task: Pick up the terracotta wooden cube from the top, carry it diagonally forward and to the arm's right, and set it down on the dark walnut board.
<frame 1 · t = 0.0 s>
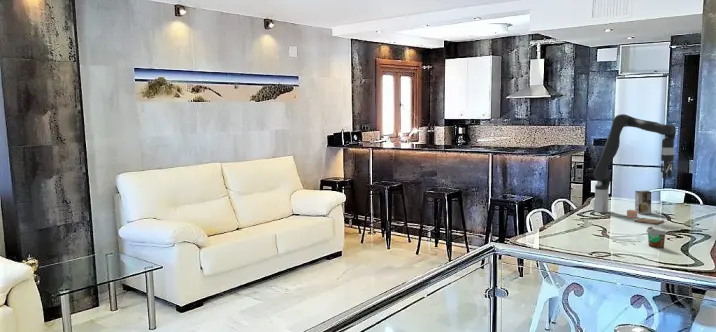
hand: (666, 177, 365), 29 cm above the table, tool pointing down, fingers open, 8 cm apart
coffee box: (642, 213, 393), on the table
walnut board: (649, 221, 363), on the table
food container: (653, 246, 302), on the table
terracotta cube: (631, 217, 380), on the table
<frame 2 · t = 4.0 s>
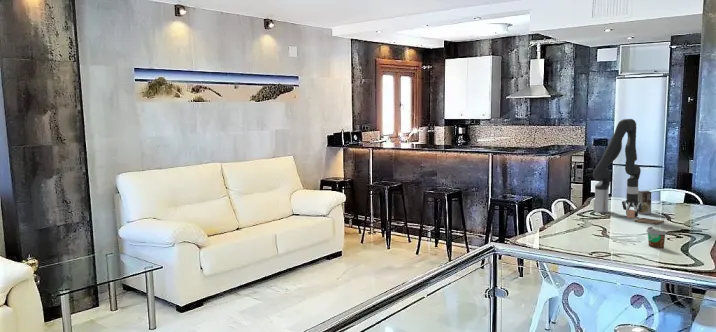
hand: (632, 216, 380), 1 cm above the table, tool pointing down, fingers closed on terracotta cube, 5 cm apart
terracotta cube: (631, 217, 380), on the table, touching gripper
everything else where it was.
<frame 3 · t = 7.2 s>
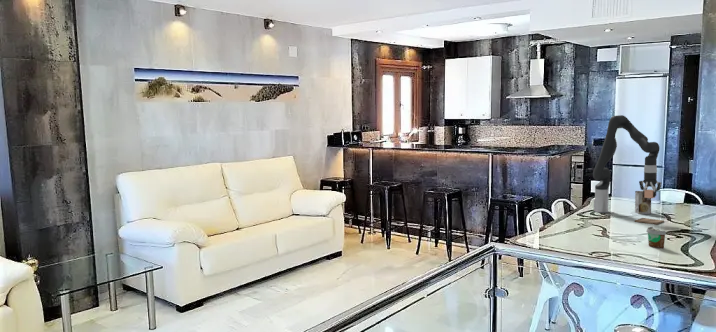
hand: (649, 196, 362), 18 cm above the table, tool pointing down, fingers closed on terracotta cube, 5 cm apart
terracotta cube: (649, 197, 362), point 17 cm above the table, touching gripper
everything else where it was.
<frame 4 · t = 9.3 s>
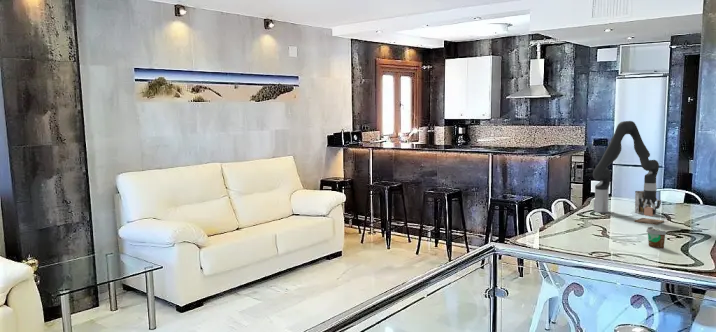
hand: (649, 214, 363), 5 cm above the table, tool pointing down, fingers closed on terracotta cube, 5 cm apart
terracotta cube: (649, 215, 363), point 5 cm above the table, touching gripper
everything else where it was.
when the fingers open (3 cm above the table, at t = 10.7 s): terracotta cube drops 1 cm, resting on walnut board.
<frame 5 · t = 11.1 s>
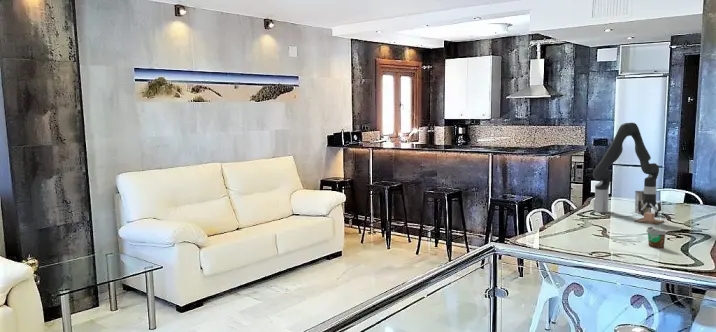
hand: (649, 216, 363), 4 cm above the table, tool pointing down, fingers open, 8 cm apart
terracotta cube: (649, 220, 363), point 1 cm above the table, touching walnut board
everything else where it was.
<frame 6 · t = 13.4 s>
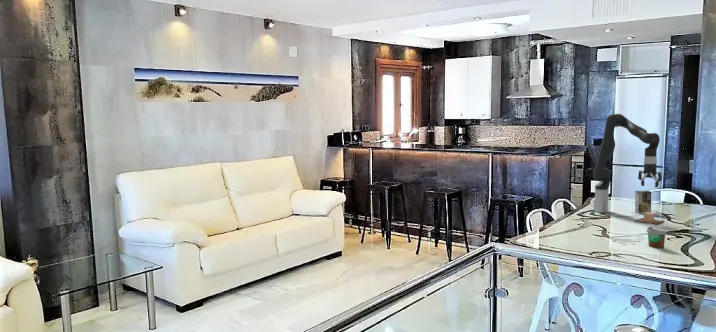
hand: (649, 186, 362), 24 cm above the table, tool pointing down, fingers open, 8 cm apart
nothing on the table moved.
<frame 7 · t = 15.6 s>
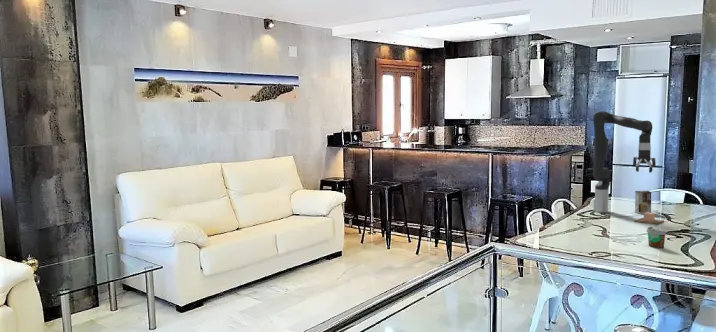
hand: (644, 172, 377), 32 cm above the table, tool pointing down, fingers open, 8 cm apart
nothing on the table moved.
at the end: terracotta cube inside the target area on the walnut board (0.1 cm from its centre), point 1.0 cm above the walnut board's base; terracotta cube tilted 0°; the gripper is holding nothing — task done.
